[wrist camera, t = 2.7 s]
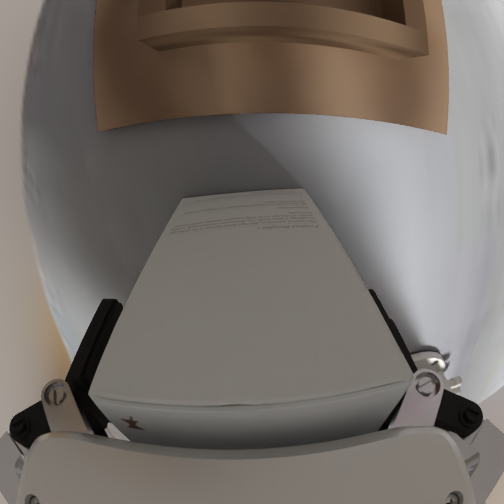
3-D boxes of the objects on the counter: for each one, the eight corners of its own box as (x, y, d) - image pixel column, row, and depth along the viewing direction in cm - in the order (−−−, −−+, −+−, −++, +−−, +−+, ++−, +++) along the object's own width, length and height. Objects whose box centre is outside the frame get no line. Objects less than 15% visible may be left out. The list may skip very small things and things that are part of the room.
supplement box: (199, 296, 19) (171, 478, 8) (180, 194, 15) (74, 393, 4) (306, 290, 19) (349, 471, 8) (309, 185, 15) (425, 379, 4)
